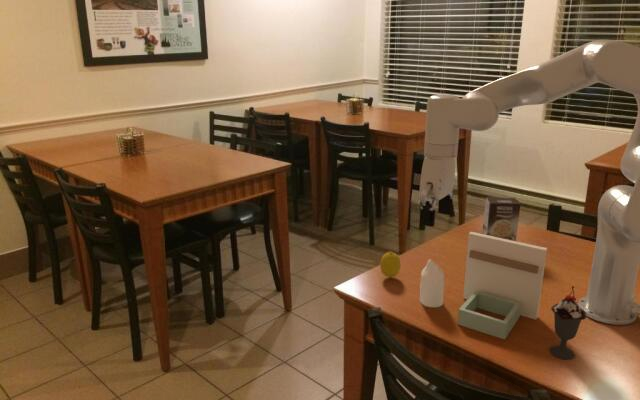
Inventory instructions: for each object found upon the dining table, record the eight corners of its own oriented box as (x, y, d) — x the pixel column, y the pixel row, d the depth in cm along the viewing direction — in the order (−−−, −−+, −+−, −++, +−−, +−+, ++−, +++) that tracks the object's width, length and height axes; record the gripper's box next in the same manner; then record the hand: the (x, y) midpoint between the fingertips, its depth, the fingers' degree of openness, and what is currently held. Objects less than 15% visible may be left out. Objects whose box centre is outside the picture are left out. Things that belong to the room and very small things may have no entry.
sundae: (569, 343, 115) (579, 282, 110) (585, 361, 109) (596, 297, 104) (539, 344, 115) (548, 282, 110) (553, 362, 108) (563, 298, 104)
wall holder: (537, 317, 125) (547, 248, 120) (520, 344, 115) (530, 270, 109) (465, 296, 135) (470, 231, 130) (443, 319, 125) (448, 250, 119)
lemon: (384, 283, 142) (385, 256, 140) (377, 275, 147) (377, 248, 145) (403, 281, 144) (404, 254, 141) (395, 272, 149) (396, 246, 146)
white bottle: (450, 259, 129) (438, 266, 125) (446, 302, 133) (435, 310, 129) (428, 252, 133) (416, 259, 129) (426, 294, 137) (414, 302, 133)
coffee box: (484, 252, 161) (489, 203, 156) (480, 244, 167) (485, 196, 162) (515, 253, 160) (521, 203, 155) (510, 245, 167) (515, 197, 161)
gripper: (441, 141, 129) (436, 206, 134) (409, 154, 116) (405, 226, 121) (470, 144, 125) (464, 212, 130) (440, 159, 111) (435, 233, 117)
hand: (436, 219), depth 126 cm, fingers open, 9 cm apart
